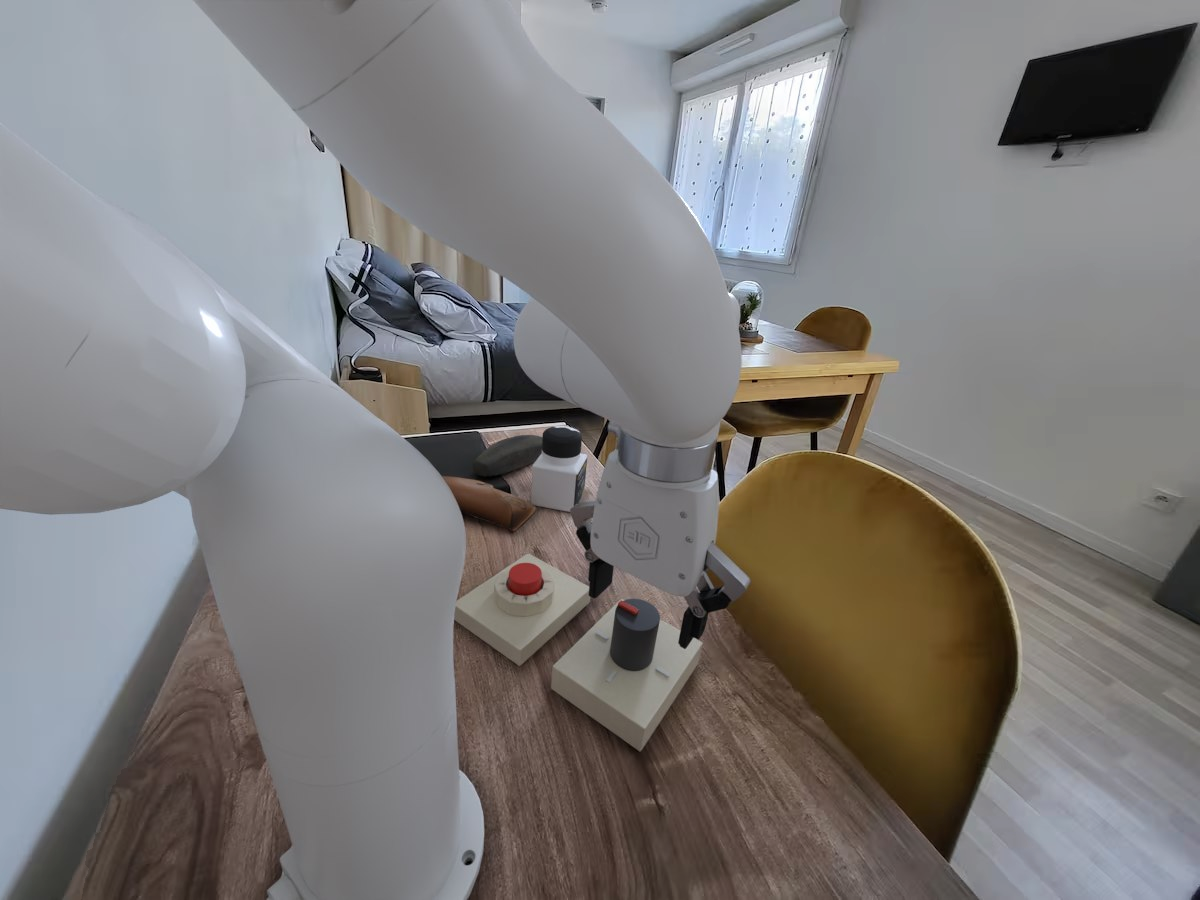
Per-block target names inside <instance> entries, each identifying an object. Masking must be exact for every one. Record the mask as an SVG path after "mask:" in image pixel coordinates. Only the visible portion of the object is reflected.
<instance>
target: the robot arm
mask: <svg viewBox="0 0 1200 900" xmlns="http://www.w3.org/2000/svg"><path fill="white" fill-rule="evenodd" d="M192 1H193V2H194V3H195V4H196V5H197V6H198V8H199V9H200V10H201V11H202V12H203V14H205V15H206V16H207V17H208V18H209V20H210V21H211V22H212V23H213V24H214V25H215V26H216V28H217V29H218V30H219V31H220V32H221V33H222V34H223V35H224V36H225V37H226V38H227V39H228V41H230V43H231V44H232V45H233V46H234V47H235V48H236V50H237V51H238V52H240V54H241V55H242V57H244V58H245V60H246V61H248V62H249V64H250V65H251V66H252V68H253V69H254V70H256V72H258V73H259V75H260V76H261V77H262V78H263V79H264V80H265V81H266V83H268V84H269V86H270V87H271V88H272V89H273V90H274V91H275V93H277V95H278V96H279V97H280V98H281V99H282V100H283V101H284V102H285V103H286V104H287V106H288V107H289V108H290V109H291V110H292V111H293V113H294V114H295V115H296V116H297V117H298V118H299V119H300V120H301V121H302V122H303V123H304V125H305V126H306V127H307V128H308V129H309V130H310V131H311V132H312V134H313V135H315V137H316V138H317V139H318V140H319V141H320V143H322V144H323V146H324V147H325V148H326V149H327V150H328V151H329V153H330V154H331V155H332V156H333V157H334V158H335V159H336V161H338V162H339V163H340V165H341V166H342V167H343V168H344V170H346V172H348V174H349V175H350V176H351V177H352V178H353V179H354V180H355V181H356V183H358V184H359V186H360V187H362V188H363V189H364V190H365V191H367V192H368V193H369V194H370V195H372V197H374V198H375V199H376V200H377V201H379V202H380V203H382V204H383V205H384V206H386V207H387V208H388V209H390V210H391V211H392V212H394V213H395V214H396V215H398V216H399V217H400V218H402V220H403V219H404V220H405V221H406V222H408V223H409V224H411V225H412V226H414V227H415V228H416V229H418V230H419V231H421V232H422V233H424V234H426V236H429V237H430V238H432V239H434V240H436V241H438V242H440V243H442V244H443V245H445V246H447V247H449V248H450V249H453V250H454V251H456V252H458V253H460V254H462V255H464V256H466V257H467V258H469V259H471V260H473V261H475V262H477V263H479V264H480V265H482V266H484V267H485V268H487V269H488V270H491V271H492V272H494V273H496V274H497V275H499V276H501V277H502V278H504V279H506V280H507V281H509V282H510V283H511V284H513V285H514V286H516V287H517V288H519V289H520V290H522V291H523V292H525V293H526V295H528V296H530V297H531V298H530V299H529V300H528V301H527V302H526V304H525V305H524V306H523V308H522V309H521V311H520V313H519V314H518V317H517V318H516V322H515V325H514V329H513V338H512V339H513V342H512V343H513V349H514V353H515V354H514V355H515V357H516V360H517V362H518V365H519V366H520V369H522V371H523V372H524V374H525V375H526V376H527V377H528V378H529V379H530V380H531V381H532V382H533V383H534V384H535V385H537V386H538V387H539V388H540V389H542V390H544V391H546V392H547V393H549V394H550V395H553V396H555V397H557V398H560V399H562V400H564V401H566V402H568V403H570V404H572V405H574V406H576V407H579V408H580V409H583V410H585V411H589V412H591V413H593V414H595V415H597V416H599V417H601V418H604V419H606V420H608V421H609V422H608V425H607V433H608V434H611V435H614V437H615V438H617V442H616V443H617V444H616V449H615V450H613V451H611V452H610V453H609V454H608V456H607V458H606V462H605V463H604V468H603V470H602V474H601V477H600V480H599V484H598V487H597V492H596V493H597V494H596V496H595V497H596V498H595V500H590V501H581V502H579V503H578V504H577V505H575V506H574V507H572V508H571V509H570V512H569V513H570V516H571V518H572V521H573V524H574V527H576V531H575V535H576V537H577V538H578V540H579V542H580V543H581V545H582V547H583V548H584V550H585V551H584V553H583V554H584V555H583V556H584V558H585V559H586V561H587V562H589V564H588V565H589V567H588V579H587V580H588V583H589V584H588V586H589V596H590V598H592V599H597V598H598V597H599V596H600V595H601V594H602V593H603V592H605V591H606V590H607V589H608V587H610V586H611V584H612V583H613V577H614V567H615V568H616V569H619V570H620V571H623V572H624V573H626V574H628V575H630V576H632V577H634V578H636V579H638V580H639V581H642V582H645V583H647V584H649V585H650V586H652V587H654V588H656V589H659V590H660V591H662V592H664V593H667V594H669V595H672V596H675V597H683V598H684V601H685V602H686V604H687V605H688V607H686V609H685V611H684V613H683V615H682V621H681V625H680V636H679V641H678V644H680V647H682V648H684V649H686V648H687V646H688V645H689V643H690V642H691V641H692V639H693V638H695V639H697V640H699V641H700V639H701V638H702V636H703V634H704V632H705V629H706V626H707V622H708V617H709V614H710V613H714V612H717V611H721V610H725V609H727V608H728V607H729V605H730V604H732V603H734V602H735V601H737V599H738V600H739V598H740V597H741V596H743V595H744V594H745V593H746V592H747V591H748V588H749V587H750V585H751V584H752V581H751V578H750V577H749V576H748V575H747V574H746V573H745V572H744V571H743V569H741V568H740V567H739V566H738V565H736V563H735V562H734V561H732V559H731V558H729V557H728V555H727V554H726V553H725V552H723V551H722V550H721V548H719V547H718V546H717V545H716V541H717V534H718V523H719V512H720V511H719V510H720V491H719V487H720V486H719V474H718V472H717V471H716V470H715V469H712V468H713V464H714V458H715V453H716V447H717V444H718V443H717V442H718V438H719V433H720V427H721V422H722V420H723V419H724V417H725V416H726V415H727V413H728V411H729V409H730V408H731V407H732V404H733V402H734V399H735V397H736V394H737V392H738V388H739V384H740V379H741V373H742V371H741V370H742V362H743V361H742V344H741V334H740V330H739V329H740V322H741V306H740V304H739V301H738V299H737V298H736V297H735V296H734V294H732V293H731V292H729V290H728V287H727V283H726V281H725V278H724V275H723V273H722V269H721V265H720V264H719V261H718V258H717V255H716V252H715V250H714V248H713V246H712V244H711V242H710V240H709V237H708V235H707V234H706V232H705V230H704V228H703V227H702V225H701V224H700V221H699V220H698V218H697V216H696V215H695V214H694V212H693V211H692V210H691V208H690V207H689V205H688V204H687V202H686V201H685V200H684V198H683V197H682V196H681V195H680V194H679V192H678V191H677V190H676V189H675V187H673V185H672V184H671V183H670V182H669V181H668V179H667V178H666V177H665V176H664V175H663V174H662V173H661V172H660V171H659V170H658V169H657V168H656V166H654V165H653V164H652V162H650V161H649V160H648V159H647V158H646V156H645V155H643V154H642V153H641V152H640V151H639V150H638V149H637V148H636V146H634V144H633V143H632V142H630V140H629V139H628V138H627V137H626V136H625V134H623V133H622V132H621V130H620V129H618V128H617V127H616V126H615V125H614V124H613V123H612V122H611V121H610V120H609V119H608V117H606V115H604V113H602V111H600V110H599V109H598V107H596V106H595V105H594V104H593V103H592V102H591V101H590V100H589V99H587V98H586V97H585V96H584V95H583V94H582V93H581V92H579V91H578V90H577V89H576V88H574V86H573V85H572V84H570V83H569V82H568V81H567V80H565V79H564V78H563V77H562V76H561V75H560V74H559V73H558V72H557V71H556V70H555V69H554V68H553V67H552V66H551V65H550V64H549V63H548V61H546V59H545V58H544V57H543V56H542V55H541V53H540V52H539V50H538V49H537V47H536V46H535V45H534V43H533V42H532V40H531V38H530V37H529V35H528V32H526V30H525V27H524V26H523V24H522V22H521V20H520V18H519V16H518V15H517V12H516V11H515V9H514V6H513V5H512V3H511V0H192ZM442 476H443V475H441V474H440V472H439V471H438V469H436V467H435V466H434V465H433V464H432V463H431V462H430V460H429V459H428V458H426V456H424V454H422V452H420V450H418V449H417V448H416V447H415V446H414V445H412V444H411V443H410V442H409V441H408V440H406V438H404V437H403V436H402V435H401V434H399V433H398V432H397V431H396V430H395V429H393V428H392V427H391V426H390V425H388V424H387V423H386V422H385V421H384V420H382V419H380V418H379V417H377V416H376V415H375V414H373V413H372V412H371V411H370V410H368V408H366V407H365V406H364V405H362V404H361V403H360V402H359V401H358V400H356V399H355V398H354V397H352V395H350V394H349V393H348V392H347V391H345V390H344V389H343V388H342V387H340V386H339V385H338V384H337V383H336V382H334V381H333V380H332V379H331V378H330V377H328V376H327V375H326V374H325V373H323V372H322V371H321V370H320V369H318V368H317V367H316V366H315V365H313V363H311V362H310V361H309V360H308V359H307V358H306V357H304V356H303V355H302V354H301V353H300V352H298V351H297V350H296V349H295V348H294V347H293V346H292V345H290V344H289V343H288V342H287V341H285V340H284V339H283V338H282V337H281V336H279V334H277V333H276V332H275V331H274V330H273V329H271V328H270V327H269V326H268V325H267V324H266V323H265V322H263V321H262V320H261V319H260V318H258V317H257V316H256V315H255V314H254V313H253V312H252V311H250V310H249V309H248V308H247V307H245V306H244V305H243V304H242V303H241V302H240V301H239V300H238V299H236V298H235V297H234V296H233V295H231V294H230V293H229V292H228V291H227V290H226V289H224V288H223V287H222V286H221V285H220V284H218V283H217V282H216V281H215V280H214V279H213V278H212V277H211V276H209V274H207V273H206V271H204V270H202V269H201V268H200V267H199V266H198V265H197V264H195V263H194V262H193V261H192V260H190V258H189V257H188V256H186V254H185V253H184V252H182V251H181V250H180V249H179V248H178V247H177V246H176V245H175V244H174V243H173V242H171V241H170V240H169V239H168V238H167V237H166V236H164V235H163V234H162V233H161V232H160V231H158V230H156V229H155V228H154V227H152V226H151V225H150V224H149V223H147V222H146V221H144V220H143V219H141V218H140V217H138V216H137V215H136V214H134V213H132V212H130V211H129V210H127V209H125V208H123V207H121V205H118V204H117V203H114V202H112V201H110V200H108V199H106V198H103V197H101V196H100V195H96V194H94V193H93V192H92V191H90V190H89V189H87V188H86V187H85V186H84V185H82V184H80V183H79V182H78V181H77V180H75V179H74V178H72V176H70V175H69V174H68V173H66V172H65V171H63V170H62V169H61V168H59V166H57V165H56V164H54V163H53V162H52V161H50V160H49V159H48V158H46V157H45V156H44V155H43V154H42V153H41V152H39V151H37V150H36V149H35V148H34V147H32V146H31V145H30V144H29V143H28V142H26V141H25V140H24V139H23V138H21V137H20V136H19V135H17V134H16V133H15V132H14V131H12V130H11V129H10V128H8V127H7V126H6V125H5V124H4V123H2V122H1V121H0V509H1V510H7V511H15V512H23V513H29V514H39V515H48V516H51V515H53V516H55V515H80V514H83V515H84V514H101V513H104V512H109V511H114V510H115V511H116V510H119V509H125V508H129V507H133V506H138V505H143V504H146V503H148V502H150V501H153V500H155V499H157V498H160V497H163V496H165V495H167V494H170V493H172V492H175V493H176V494H178V495H180V496H182V497H184V498H185V499H187V500H188V502H189V505H190V509H191V518H192V523H193V526H194V530H195V533H196V536H197V539H198V542H199V546H200V550H201V552H202V556H203V560H204V563H205V567H206V571H207V574H208V578H209V581H210V584H211V589H212V592H213V596H214V599H215V604H216V607H217V610H218V613H219V617H220V619H221V622H222V626H223V629H224V632H225V635H226V638H227V640H228V644H229V647H230V649H231V651H232V654H233V657H234V660H235V663H236V666H237V669H238V672H239V675H240V678H241V681H242V685H243V688H244V692H245V695H246V699H247V702H248V706H249V709H250V712H251V715H252V719H253V722H254V726H255V730H256V731H257V735H258V739H259V742H260V746H261V749H262V752H263V754H264V756H265V758H266V762H267V765H268V769H269V772H270V775H271V778H272V782H273V785H274V789H275V792H276V795H277V798H278V802H279V805H280V808H281V812H282V816H283V819H284V822H285V826H286V828H287V832H288V835H289V839H290V842H291V846H290V847H289V848H288V849H287V850H286V851H285V852H284V853H282V855H281V856H280V857H279V863H280V866H281V869H282V870H281V871H282V872H281V876H280V877H279V878H278V879H277V881H275V882H274V883H273V884H272V885H271V886H270V887H269V888H268V889H267V890H266V894H267V896H268V897H267V898H266V899H265V900H469V897H470V896H471V894H472V890H473V888H474V886H475V883H476V880H477V879H478V875H479V873H480V868H481V865H482V859H483V855H484V850H485V849H484V846H485V818H484V817H485V816H484V811H483V808H482V803H481V799H480V797H479V794H478V792H477V790H476V788H475V786H474V784H473V783H472V781H471V780H470V779H469V777H468V775H466V774H465V772H464V771H462V770H461V769H460V762H459V761H460V760H459V759H460V758H459V739H458V737H459V736H458V718H457V716H458V715H457V697H456V696H457V695H456V693H457V692H456V680H455V679H456V678H455V665H454V625H455V624H454V623H455V620H454V614H455V607H456V601H457V600H458V595H459V591H460V586H461V582H462V577H463V574H464V573H463V572H464V567H465V561H466V554H467V553H466V551H467V533H466V526H465V522H464V518H463V514H462V512H461V511H460V509H459V506H458V504H457V501H456V499H455V497H454V495H453V493H452V491H451V490H450V488H449V486H448V485H447V483H446V482H445V481H444V479H443V478H442ZM709 570H711V571H712V573H714V575H716V577H717V578H718V579H719V580H721V581H722V583H723V585H720V586H717V587H714V585H713V583H712V581H711V579H710V577H709V576H708V574H707V572H709ZM468 862H471V863H470V864H468V865H467V863H468Z"/></svg>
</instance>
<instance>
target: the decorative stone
mask: <svg viewBox="0 0 1200 900" xmlns="http://www.w3.org/2000/svg"><path fill="white" fill-rule="evenodd" d="M541 454H542V436H540V435H535V434H521V435H520V434H519V435H515V436H510V437H507V438H503V439H501V440H499V441H497V442H495V443H493V444H491V445H490V446H488V447H487V448H486V449H485V450H483V451H482V452H481V453H480V454H479V455H478V456H477V457H476V459H474V461H473V462H472V469H473V471H474V473H475V474H476V473H477V474H476V476H480V477H483V478H484V477H485V478H486V477H487V476H489V477H487V478H490V477H492V476H491V475H494V476H493V477H496V476H500V475H503V474H507V473H510V472H513V471H516V470H518V469H521V468H523V467H526V466H529V465H530V464H532V463H533V464H534V463H535V461H536V460H537V459H538V457H539V456H540V455H541ZM478 474H479V475H478ZM496 474H497V475H496ZM482 475H483V476H482Z"/></svg>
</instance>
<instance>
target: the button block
mask: <svg viewBox="0 0 1200 900" xmlns="http://www.w3.org/2000/svg"><path fill="white" fill-rule="evenodd" d="M520 563H532V564H535V565H537V566H538V567H539V568H540V569H541V571H542V581H541V588H540V590H539V591H538V592H537V593H536V594H533V595H529V596H521V595H515V594H514V593H512V592H511V591H510V589H509V586H508V584H509V571H510V569H511V568H512V567H513V566H515V565H517V564H520ZM590 603H591V597H590V596H589V585H587V584H585V583H583V582H582V581H579V580H578V579H576V578H574V577H572V576H571V575H568V574H567V573H565V572H564V571H562V570H560V569H558V568H556V567H554V566H552V565H551V564H549V563H547V562H545V561H544V560H541V559H539V558H538V557H536V556H535V555H532V554H531V553H529V552H528V553H526V554H524V555H523V556H521V557H520V558H518V559H517V560H516V561H514V562H512V563H511V564H509V565H508V566H506V567H505V568H503V569H502V570H500V571H499V572H497V573H495V574H494V575H493V576H491V577H490V578H489V579H487V580H485V581H484V582H482V583H481V584H479V585H478V586H476V587H475V588H474V589H472V590H470V591H469V592H467V593H466V594H465V595H463V596H461V597H460V598H457V600H456V607H455V614H454V622H457V623H458V624H459V625H461V626H462V627H463V628H464V629H466V630H468V631H469V632H471V633H472V634H473V635H475V636H476V637H478V638H479V639H480V640H482V641H483V642H485V643H486V644H488V645H489V646H490V647H492V648H493V649H494V650H496V651H497V652H499V653H500V654H502V655H503V656H504V657H506V658H507V659H508V660H510V661H512V662H513V663H514V664H515V665H517V666H518V667H521V666H522V665H523V664H524V663H525V662H526V661H527V660H528V659H530V658H531V657H532V656H533V655H535V653H536V652H537V651H538V650H539V649H541V648H542V647H543V646H544V645H545V644H546V643H547V642H549V640H550V639H552V638H553V637H554V636H555V635H556V634H557V633H558V632H559V631H560V630H561V629H562V628H564V627H565V626H566V625H567V624H568V623H569V622H570V621H571V620H572V619H574V618H575V617H576V616H577V615H578V614H579V613H580V612H581V611H582V610H584V608H585V607H587V606H588V605H589V604H590Z"/></svg>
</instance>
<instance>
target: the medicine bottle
mask: <svg viewBox="0 0 1200 900" xmlns="http://www.w3.org/2000/svg"><path fill="white" fill-rule="evenodd" d="M541 437H542V454H541V455H540V456H539V457H538V459H537V460H536V461H534V462H533V464H532V466H531V484H530V485H531V486H530V487H531V489H530V490H531V491H530V503H531V504H532V505H533V506H535V507H541V508H545V509H552V510H555V511H556V510H557V511H561V512H566V513H570V509H571V508H572V507H574V506H575V505H577V504H578V503H580V501H581V499H582V497H583V495H584V493H585V487H586V475H587V464H588V454H586V453H582V445H583V444H582V443H583V435H582V433H581V431H579V430H578V429H577V428H574V427H571V426H567V425H555V426H551V427H548V428H546V429H545V430H543V432H542V435H541Z"/></svg>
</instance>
